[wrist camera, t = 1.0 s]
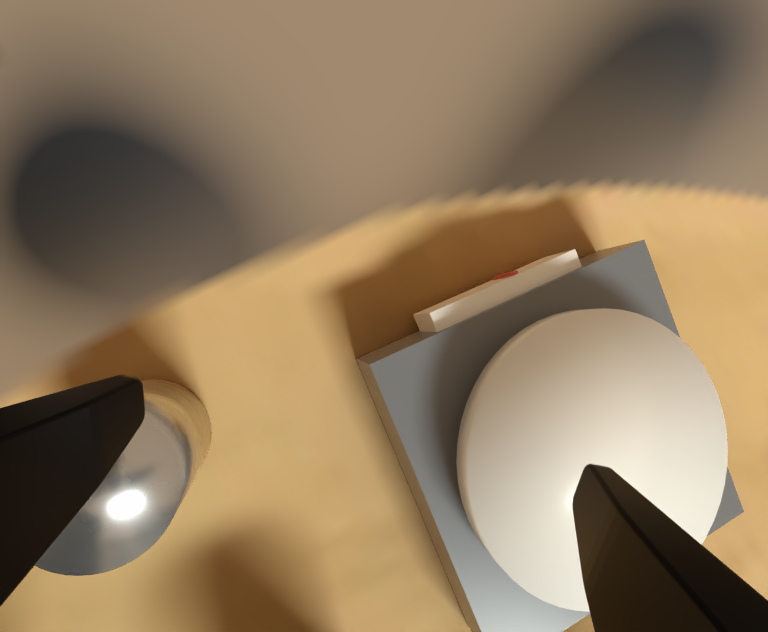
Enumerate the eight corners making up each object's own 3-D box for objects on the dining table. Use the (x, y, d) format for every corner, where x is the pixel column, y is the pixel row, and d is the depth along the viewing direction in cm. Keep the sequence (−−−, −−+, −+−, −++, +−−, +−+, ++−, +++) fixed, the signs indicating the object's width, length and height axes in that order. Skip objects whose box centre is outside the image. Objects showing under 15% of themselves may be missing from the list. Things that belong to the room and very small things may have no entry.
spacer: (117, 513, 17) (37, 607, 12) (67, 408, 17) (-40, 451, 11) (229, 461, 18) (207, 523, 13) (184, 361, 18) (140, 377, 12)
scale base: (467, 624, 21) (498, 673, 18) (347, 338, 20) (359, 340, 17) (685, 488, 23) (743, 511, 20) (589, 233, 22) (636, 219, 20)
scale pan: (522, 652, 17) (537, 671, 16) (410, 380, 16) (419, 384, 15) (738, 509, 19) (763, 519, 18) (650, 267, 19) (670, 264, 18)
